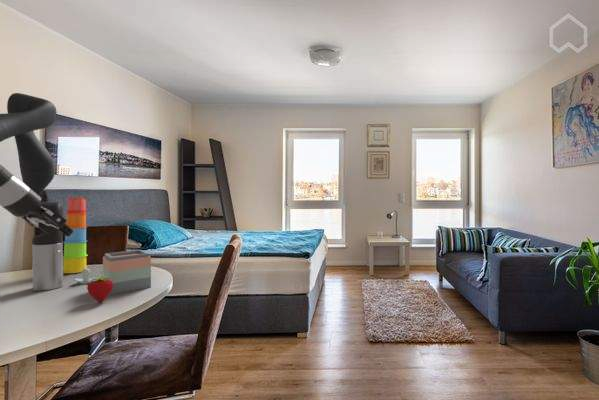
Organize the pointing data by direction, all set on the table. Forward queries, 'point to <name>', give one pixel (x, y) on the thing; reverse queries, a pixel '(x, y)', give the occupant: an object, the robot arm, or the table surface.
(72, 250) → the stacking cups
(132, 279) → the pastel striped block
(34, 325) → the table surface
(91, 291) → the strawberry
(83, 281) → the pacifier
